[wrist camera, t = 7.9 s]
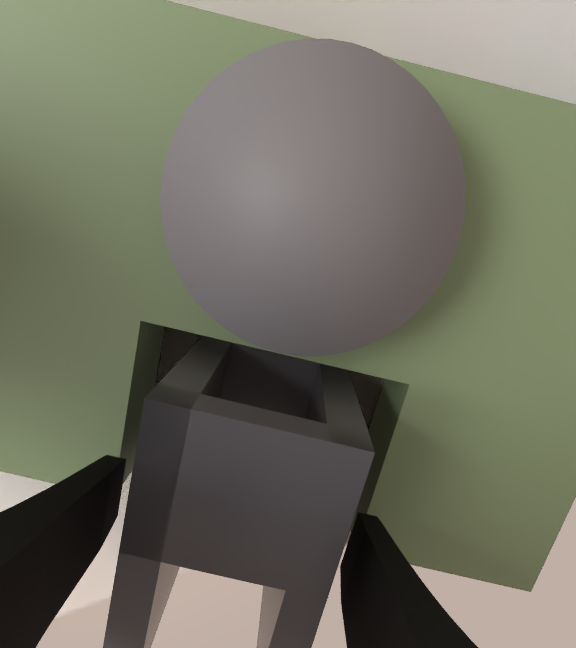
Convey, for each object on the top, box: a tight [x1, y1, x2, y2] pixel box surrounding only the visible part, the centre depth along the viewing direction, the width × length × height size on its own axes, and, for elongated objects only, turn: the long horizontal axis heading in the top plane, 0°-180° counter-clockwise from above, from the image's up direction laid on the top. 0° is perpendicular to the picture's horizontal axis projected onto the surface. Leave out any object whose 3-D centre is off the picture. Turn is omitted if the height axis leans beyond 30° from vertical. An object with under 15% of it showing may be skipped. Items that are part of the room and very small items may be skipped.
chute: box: [103, 335, 375, 648], centre depth 12 cm, size 5×8×6 cm, turn 167°
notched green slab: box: [0, 0, 576, 592], centre depth 12 cm, size 20×14×4 cm
